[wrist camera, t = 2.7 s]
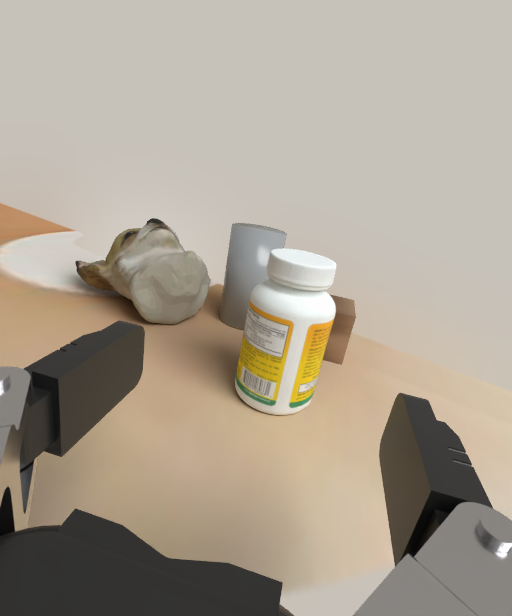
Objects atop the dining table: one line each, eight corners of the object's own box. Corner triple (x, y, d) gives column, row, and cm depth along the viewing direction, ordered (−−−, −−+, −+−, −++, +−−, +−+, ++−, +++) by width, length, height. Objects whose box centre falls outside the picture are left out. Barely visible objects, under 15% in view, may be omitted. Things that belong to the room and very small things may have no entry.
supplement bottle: (235, 415, 21) (263, 261, 18) (232, 367, 26) (253, 240, 23) (320, 421, 22) (362, 276, 19) (302, 374, 27) (332, 252, 24)
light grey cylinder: (212, 322, 33) (224, 226, 30) (227, 305, 38) (240, 221, 35) (263, 335, 32) (282, 238, 29) (273, 316, 37) (290, 231, 34)
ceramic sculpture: (126, 228, 24) (66, 203, 34) (123, 346, 26) (69, 289, 37) (248, 233, 30) (168, 211, 41) (236, 326, 33) (164, 283, 44)
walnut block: (289, 352, 30) (300, 304, 29) (295, 332, 35) (305, 289, 33) (341, 365, 30) (355, 317, 28) (341, 343, 34) (353, 300, 32)
